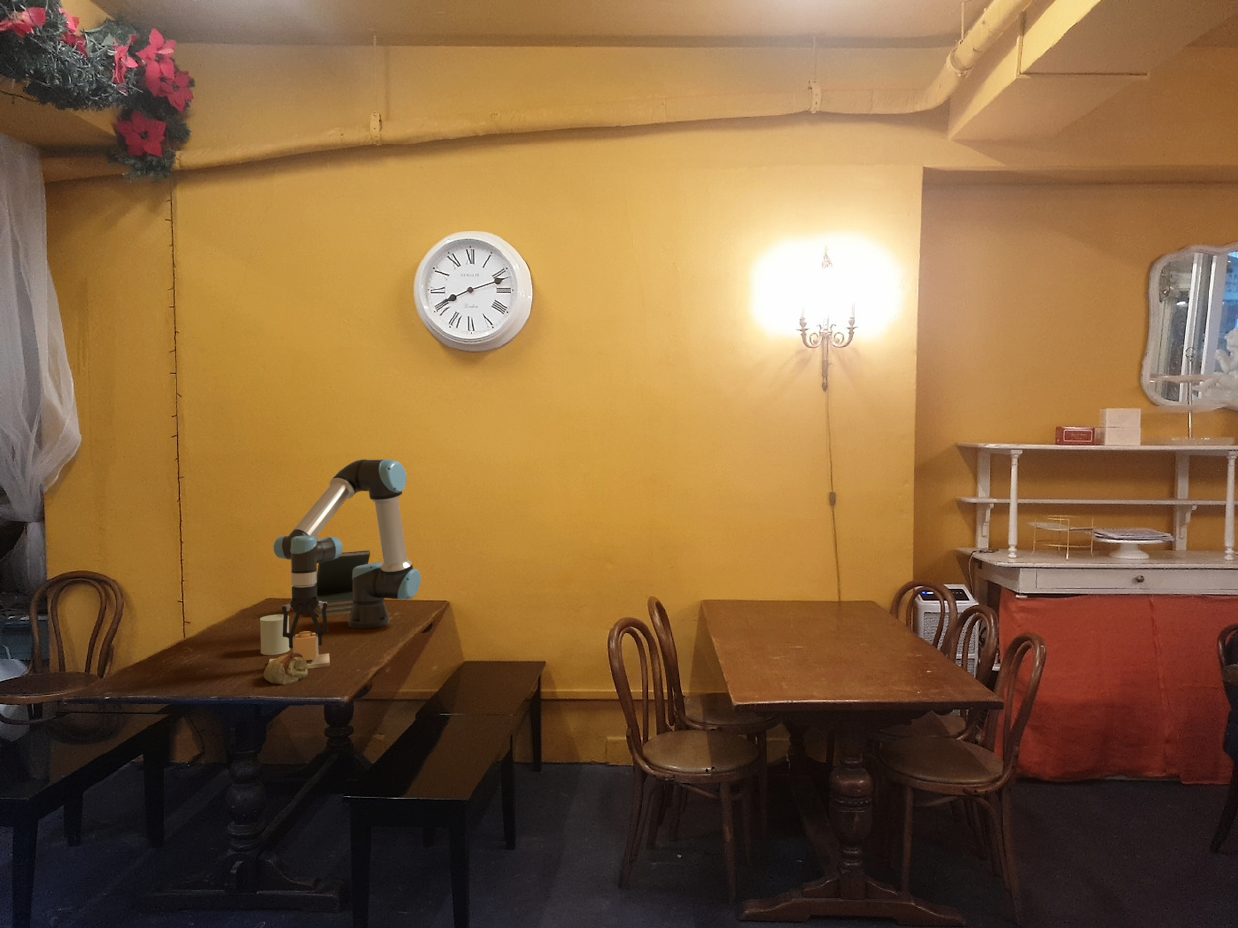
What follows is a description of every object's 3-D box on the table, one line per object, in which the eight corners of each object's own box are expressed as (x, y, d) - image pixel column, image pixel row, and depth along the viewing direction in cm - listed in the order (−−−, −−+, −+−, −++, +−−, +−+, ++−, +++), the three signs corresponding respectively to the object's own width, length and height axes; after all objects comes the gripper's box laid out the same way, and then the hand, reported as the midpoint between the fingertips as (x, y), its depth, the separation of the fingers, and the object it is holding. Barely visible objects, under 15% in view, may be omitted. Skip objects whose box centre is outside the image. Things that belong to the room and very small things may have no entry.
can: (296, 648, 274) (295, 614, 273) (276, 656, 265) (275, 620, 264) (274, 646, 277) (273, 612, 276) (254, 653, 268) (253, 618, 267)
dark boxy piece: (365, 601, 347) (364, 544, 346) (376, 611, 330) (375, 551, 329) (309, 608, 335) (308, 549, 334) (318, 618, 319) (316, 555, 317)
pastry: (301, 684, 236) (301, 658, 236) (257, 686, 234) (256, 659, 234) (313, 670, 250) (313, 645, 250) (271, 672, 248) (271, 646, 248)
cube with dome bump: (315, 654, 258) (315, 629, 258) (315, 659, 253) (315, 634, 252) (295, 656, 256) (295, 631, 256) (295, 661, 251) (295, 635, 250)
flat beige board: (329, 656, 264) (328, 638, 263) (329, 666, 253) (329, 646, 253) (269, 662, 257) (269, 643, 257) (267, 672, 247) (267, 652, 247)
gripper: (335, 580, 260) (337, 650, 261) (272, 584, 254) (274, 656, 255) (336, 584, 253) (337, 656, 254) (271, 589, 246) (272, 663, 248)
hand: (305, 656), depth 254 cm, fingers closed on cube with dome bump, 6 cm apart
